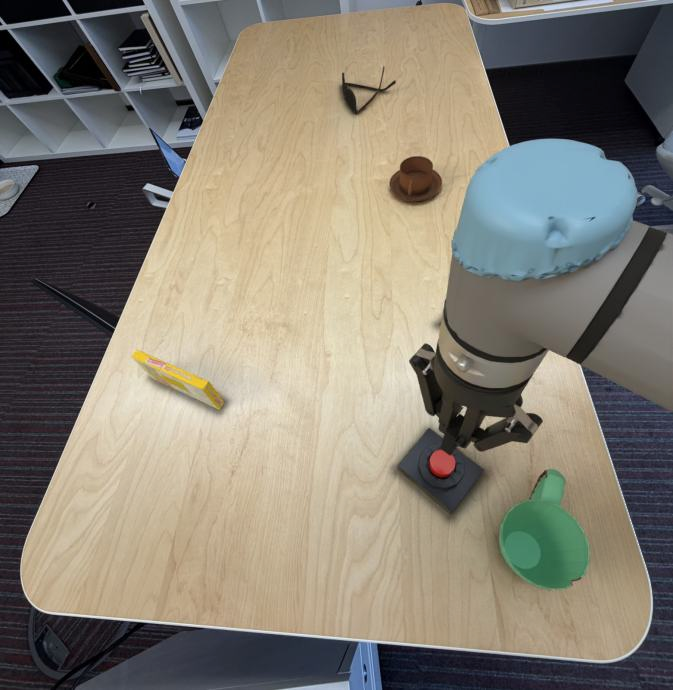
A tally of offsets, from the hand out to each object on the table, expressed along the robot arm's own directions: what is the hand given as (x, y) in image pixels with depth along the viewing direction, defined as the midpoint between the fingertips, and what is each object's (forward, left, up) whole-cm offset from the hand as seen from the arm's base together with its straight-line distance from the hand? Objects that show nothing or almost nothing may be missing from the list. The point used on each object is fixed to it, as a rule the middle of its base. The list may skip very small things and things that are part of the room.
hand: (451, 444), depth 52 cm
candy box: (+43, +18, -14) cm, 49 cm away
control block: (0, 0, -14) cm, 14 cm away
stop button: (0, 0, -11) cm, 11 cm away
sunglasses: (+79, -75, -14) cm, 110 cm away
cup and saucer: (+43, -50, -14) cm, 68 cm away
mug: (-14, -1, -14) cm, 20 cm away
